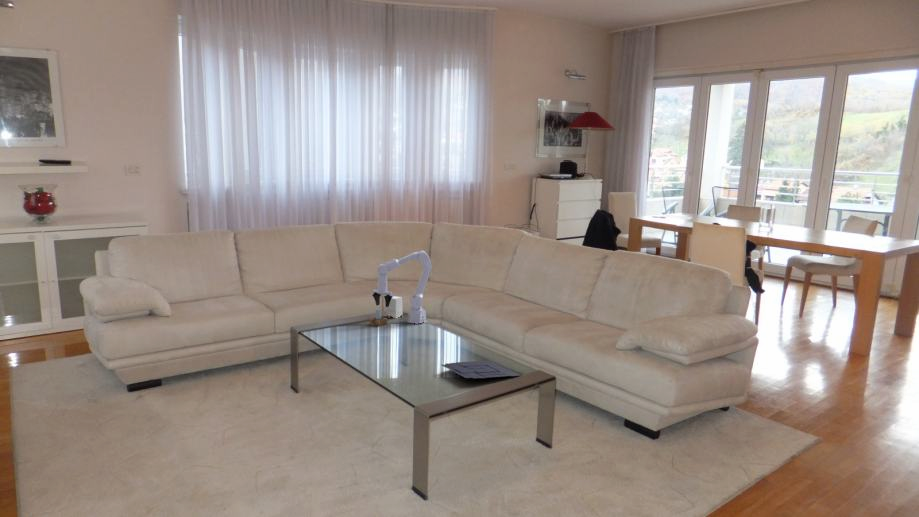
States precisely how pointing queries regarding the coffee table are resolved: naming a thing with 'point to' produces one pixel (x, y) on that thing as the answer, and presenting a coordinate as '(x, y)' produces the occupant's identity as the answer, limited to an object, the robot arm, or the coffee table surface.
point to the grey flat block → (479, 369)
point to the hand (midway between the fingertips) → (382, 306)
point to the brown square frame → (378, 322)
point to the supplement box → (395, 307)
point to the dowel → (378, 314)
